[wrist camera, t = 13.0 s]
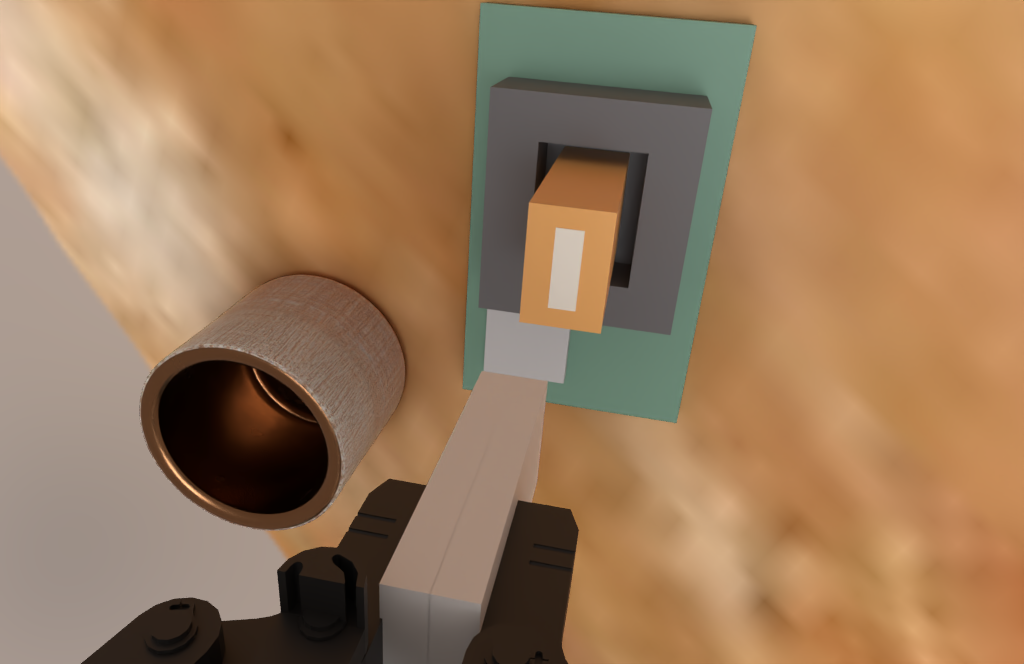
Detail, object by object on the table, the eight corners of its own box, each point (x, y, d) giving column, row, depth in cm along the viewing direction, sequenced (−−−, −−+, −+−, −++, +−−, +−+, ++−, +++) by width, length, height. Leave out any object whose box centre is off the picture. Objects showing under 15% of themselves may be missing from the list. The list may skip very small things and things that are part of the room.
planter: (245, 245, 41) (136, 312, 33) (425, 303, 41) (362, 386, 32) (232, 400, 46) (134, 493, 38) (392, 453, 46) (329, 560, 37)
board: (676, 411, 40) (677, 466, 36) (467, 378, 42) (443, 426, 37) (753, 24, 32) (768, 30, 27) (486, 2, 33) (457, 4, 29)
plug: (616, 246, 35) (600, 334, 26) (555, 238, 35) (518, 322, 26) (630, 153, 33) (617, 213, 24) (565, 146, 33) (528, 202, 24)
